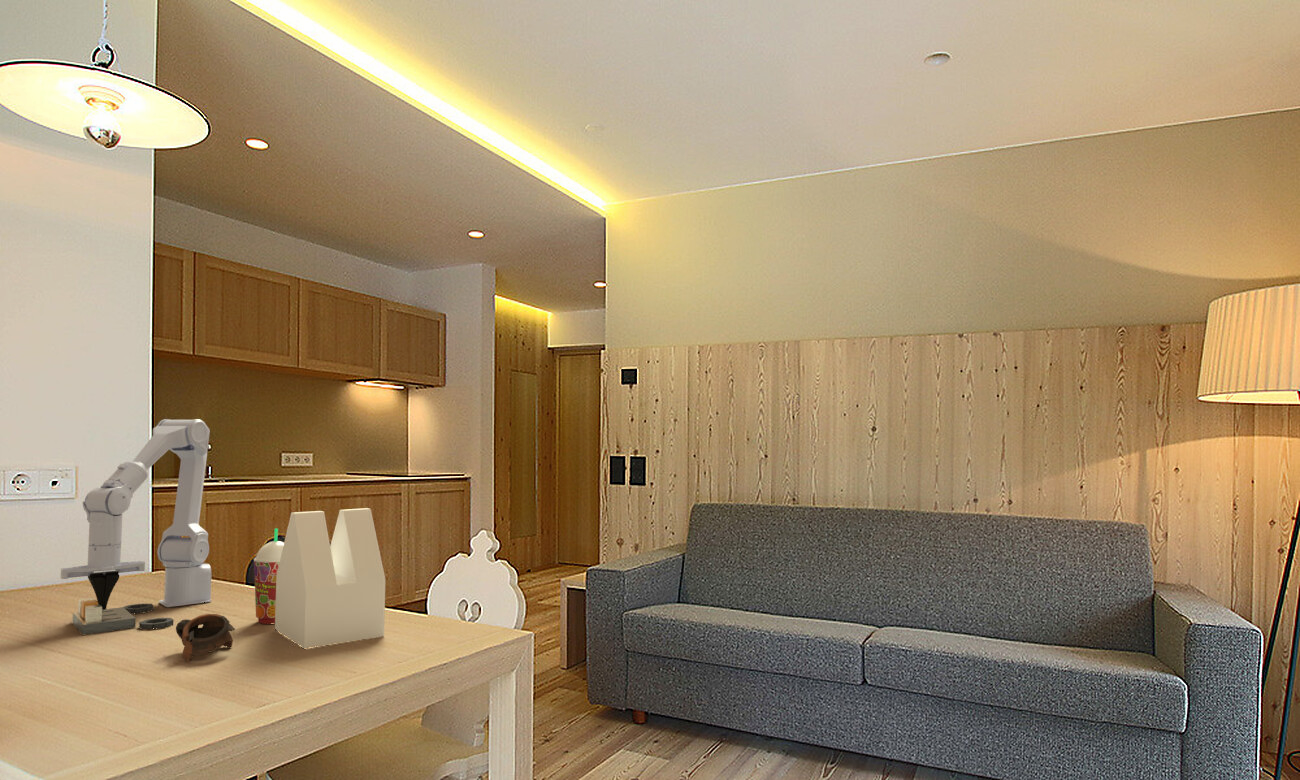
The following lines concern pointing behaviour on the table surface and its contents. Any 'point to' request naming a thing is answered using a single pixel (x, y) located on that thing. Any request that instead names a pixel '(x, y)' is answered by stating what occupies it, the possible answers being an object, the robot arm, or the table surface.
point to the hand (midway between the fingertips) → (102, 609)
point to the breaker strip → (102, 619)
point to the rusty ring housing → (204, 634)
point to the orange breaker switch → (87, 603)
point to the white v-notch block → (330, 580)
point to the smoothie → (267, 579)
